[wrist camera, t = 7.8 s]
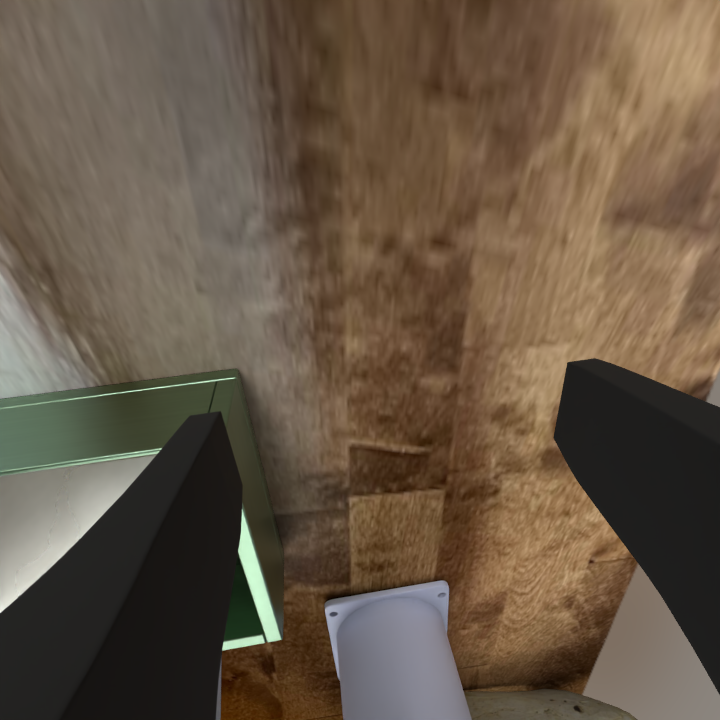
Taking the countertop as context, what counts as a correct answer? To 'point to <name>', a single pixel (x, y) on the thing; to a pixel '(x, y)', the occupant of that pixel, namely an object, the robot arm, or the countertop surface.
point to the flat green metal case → (148, 436)
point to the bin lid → (56, 518)
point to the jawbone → (540, 706)
